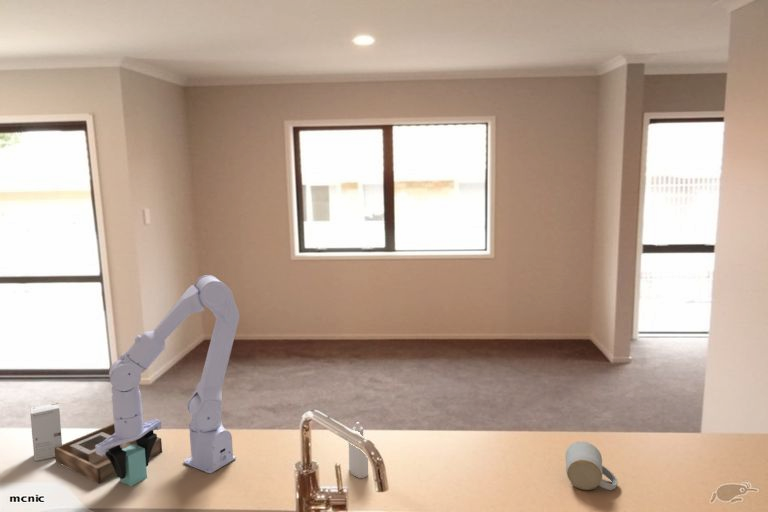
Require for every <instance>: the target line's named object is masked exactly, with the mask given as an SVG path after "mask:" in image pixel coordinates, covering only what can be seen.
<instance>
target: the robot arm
mask: <svg viewBox="0 0 768 512" xmlns="http://www.w3.org/2000/svg"><path fill="white" fill-rule="evenodd" d="M186 289H187V290H185V292H184V293H183V294H182V295H181V297H180V298H179V299H178V300H177V301H176V302H175V304H174V305H173V306H172V307H171V308H170V310H169V311H168V312H167V313H166V315H165V316H164V317H163V319H162V320H161V321H160V322H159V323H158V324H157V326H156V327H155V328H154V329H153V330H150V331H144V332H143V333H142V334H141V335H139V334H138V335H137V336H135V337H134V343H133V344H132V345H131V346H130V347H129V348H128V350H127V351H126V352H125V353H121V354H120V355H119V356H118V359H117V360H116V361H114V362H113V363H112V365H111V366H110V368H109V371H108V375H109V380H110V384H111V393H112V395H111V403H112V404H111V405H112V413H113V424H114V427H115V433H114V434H113V435H111V436H110V437H109V438H107V439H106V440H104V441H103V442H101V443H99V444H97V445H95V449H96V454H98V455H100V456H102V455H106V456H107V457H108V459H109V460H110V462H111V463H112V465H113V467H114V470H115V472H116V475H115V476H116V478H119V479H120V478H121V479H123V478H125V457H126V451H124V450H122V448H120V446H121V445H123V444H125V443H127V442H131V441H134V440H136V442H137V445H138V446H140V447H142V448H145V458H146V468H147V467H148V466H149V463H150V459H151V458H150V454H151V451H152V448H153V445H154V443H155V441H156V440H157V437H158V435H157V433H155V432H154V431H155V430H156V431H159V430H161V429H162V421H161V420H159V419H157V418H154V419H151V420H148V421H146V422H144V418H143V417H144V416H143V406H142V405H143V404H142V395H141V390H140V385H139V384H140V382H141V379H142V374H143V373H144V372H146V371H147V370H148V369H149V367H150V366H151V365H152V364H153V362H155V360H157V358H158V357H159V356H160V355H161V354H162V353H163V352H164V350H165V349H166V340H167V338H169V336H171V335H172V334H173V333H174V332H175V330H176V329H177V328H179V327H180V325H181V324H182V323H183V322H184V321H185V320H186V319H187V318H188V317H190V315H191V314H195V313H200V312H205V308H204V306H205V307H206V308H208V309H209V310H210V311H211V312H212V314H213V316H214V317H215V322H214V326H213V331H212V334H211V339H210V341H209V346H208V350H207V354H206V358H205V362H204V366H203V370H202V372H201V373H202V374H201V377H200V381H199V383H198V384H197V385H196V387H195V391H194V393H193V395H192V396H191V397H190V398H189V400H188V402H187V410H188V412H189V414H191V420H190V422H189V426H188V427H189V441H190V454H191V455H190V457H188V458H186V459H184V460H183V464H186V465H187V466H190V467H193V468H195V469H198V470H200V471H203V472H205V473H207V474H212V473H214V472H215V471H217V470H219V469H221V468H223V467H224V466H227V464H229V463H231V462H232V461H234V460H236V459H237V457H236V456H235V455H234V454H233V453H234V451H233V437H232V436H233V435H232V434H231V432H230V430H227V429H226V428H225V427H224V425H223V422H222V419H223V412H222V409H221V408H222V402H223V397H222V396H223V395H222V393H223V392H222V388H223V384H224V381H225V376H226V371H227V368H228V364H229V361H230V357H231V353H232V348H233V345H234V340H235V337H236V332H237V329H238V324H239V321H240V312H239V308H238V306H237V304H236V300H235V299H234V292H233V291H232V290H231V289H230V288H229V287H228V286H227V285H226V284H225V283H224V282H223V281H220V280H219V279H218V278H217V277H216V276H214V275H210V274H206V275H202V276H200V277H199V278H197V279H196V281H195V283H194V284H191V285H190V286H188V288H186Z"/></svg>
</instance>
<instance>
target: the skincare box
mask: <svg viewBox="0 0 768 512" xmlns="http://www.w3.org/2000/svg"><path fill="white" fill-rule="evenodd" d="M29 408H30V424H31V437H32V439H31V440H32V448H33V449H32V450H33V460H34V461H35V462H38V461H42V460H47V459H51V458H54V457H55V449H54V448H56V447H58V446H60V445H63V440H62V439H63V438H62V425H61V414H60V413H61V412H60V404H59V402H54V403H47V404H43V405H39V406H33V407H29Z"/></svg>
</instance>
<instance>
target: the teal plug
mask: <svg viewBox="0 0 768 512" xmlns="http://www.w3.org/2000/svg"><path fill="white" fill-rule="evenodd" d="M122 450H124V451H126V457H125V478H123V479H121V478H119V482H121V483H123V484H125V485H127V486H129V487H132V486H134V485H136V484H138V483H139V482H141V481H143V480H145V479H147V478H148V472H147V467H146V458H145V448H142V447H140V446H138V445H135V444H133V445H130V446H128V447H126V448H124V449H122Z"/></svg>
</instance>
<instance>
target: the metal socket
mask: <svg viewBox="0 0 768 512" xmlns="http://www.w3.org/2000/svg"><path fill="white" fill-rule="evenodd" d="M110 436H111V435H108V434H106V433H103V432H101V433H99V434H96V435H94V436H91V437H89V438H87V439H84V440H82V441H79V442H77V443H75V444H72V445H70V453H71V454H73V455H75V456H77V457H79V458H81V459H84V460H86V461H88V462H90V463H92V464H96V463H98V462H100V461H103V460H105V459H107V458H108V457H107V456H106V455H102V456H100V455H98V454H96V449H95V445H97V444H99V443H101V442H103V441H104V440H106V439H107V438H109V437H110ZM120 448H122V445H121V446H120Z"/></svg>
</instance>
